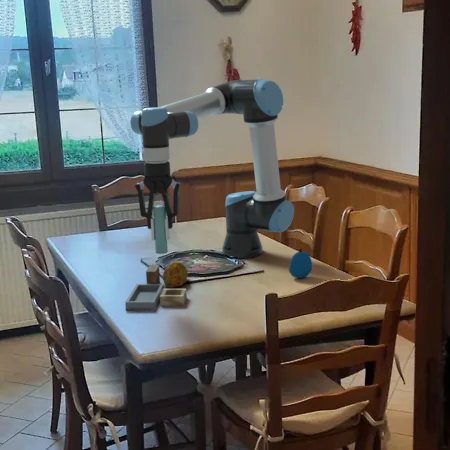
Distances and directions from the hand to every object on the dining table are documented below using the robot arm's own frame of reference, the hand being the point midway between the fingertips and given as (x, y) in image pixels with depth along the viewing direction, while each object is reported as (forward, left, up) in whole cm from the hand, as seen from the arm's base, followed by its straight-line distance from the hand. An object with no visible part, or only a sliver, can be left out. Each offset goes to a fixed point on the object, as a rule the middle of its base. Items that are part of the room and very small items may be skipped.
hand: (160, 239), depth 208 cm
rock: (-1, -17, -20) cm, 27 cm away
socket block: (-3, 0, -20) cm, 20 cm away
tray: (+6, -1, -20) cm, 21 cm away
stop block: (+6, -15, -20) cm, 25 cm away
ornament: (-42, -23, -20) cm, 52 cm away
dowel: (0, 0, -4) cm, 4 cm away
